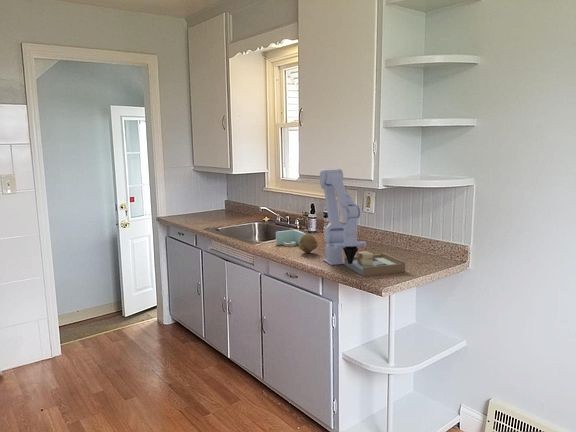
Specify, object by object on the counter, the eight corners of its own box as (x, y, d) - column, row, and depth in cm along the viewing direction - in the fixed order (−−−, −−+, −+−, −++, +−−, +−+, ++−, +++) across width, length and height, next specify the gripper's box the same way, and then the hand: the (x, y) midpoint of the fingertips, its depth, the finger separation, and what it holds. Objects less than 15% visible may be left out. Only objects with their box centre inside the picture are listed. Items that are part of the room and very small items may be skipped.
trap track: (344, 265, 216) (344, 255, 216) (382, 261, 223) (382, 252, 222) (363, 276, 199) (364, 265, 198) (404, 271, 205) (405, 261, 204)
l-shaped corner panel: (275, 245, 260) (275, 231, 259) (294, 242, 265) (294, 229, 264) (285, 249, 249) (285, 235, 248) (305, 246, 255) (305, 233, 254)
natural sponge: (320, 252, 241) (320, 233, 239) (311, 256, 234) (311, 236, 232) (305, 250, 246) (305, 231, 244) (296, 253, 239) (296, 234, 237)
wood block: (357, 263, 210) (357, 252, 210) (367, 262, 212) (367, 251, 211) (362, 265, 206) (362, 254, 205) (372, 264, 207) (373, 253, 207)
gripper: (339, 235, 198) (338, 267, 200) (369, 233, 203) (369, 264, 205) (332, 232, 205) (332, 263, 207) (362, 230, 209) (361, 260, 212)
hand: (349, 263), depth 206 cm, fingers closed
